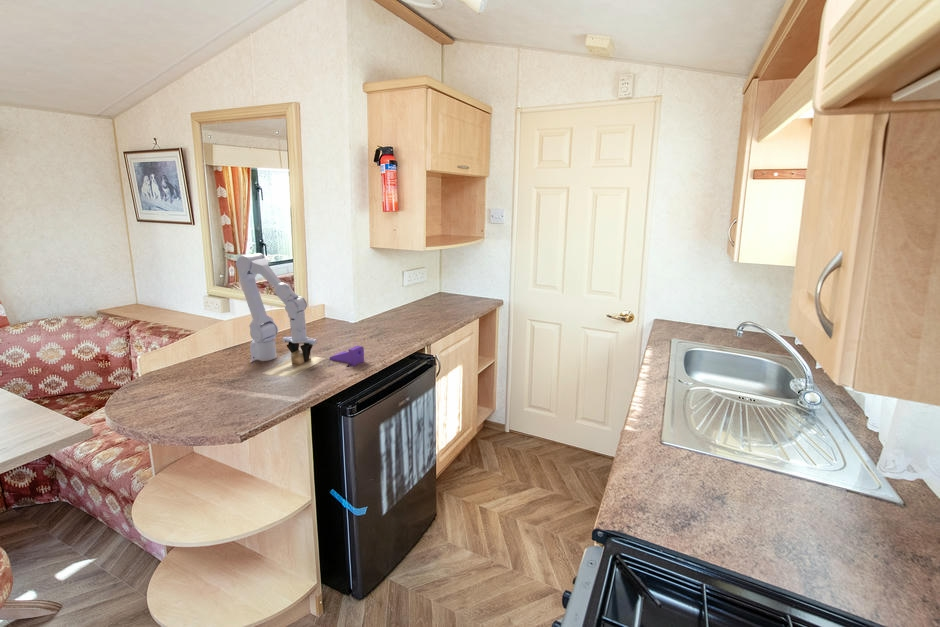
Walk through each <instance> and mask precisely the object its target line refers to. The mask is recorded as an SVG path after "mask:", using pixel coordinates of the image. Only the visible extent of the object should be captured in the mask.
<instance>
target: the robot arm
mask: <svg viewBox="0 0 940 627" xmlns="http://www.w3.org/2000/svg"><path fill="white" fill-rule="evenodd" d="M234 264H235V266H236V270H237V272H238V273H237V274H238V276H237V277H238V279H239V282H240V285H241V288H242V290H243V291H242V292H243V294H244V297H245V298H244V299H245V300H246V303H247V305H248V306H247V307H248V309H249V312H250V314H251V318H252V320H251V322H250V323H249V326H248V327H249V329H250V332H249V333H250V334H249V336H250V337H251V339H252V341H251V342H250V344H249V350H250V357H251V360H249V361H250V363H252V362H255V361H261V362H263V361H264V362H265V361H267V362H268V361H273V360H275V359H277V348H276V337H277V335H278V333H279V329H278V326H277V324H276V322H274V319H273V318H272V316H269V315H267V312H266V308H265V306H264V303H263V300H262V297H261V293H260V290H259V287H258V285H257V282H256V276H257V275H261V276H262V277H263V278H264V279H265V281H267V283H269V284H270V285H271V286H272V287H273V288H274V289H273V290H274V294H275V295H276V296H277V297H278V299H279V300H280V301H281V302H282V303H283V304H284V305H285V306H284V309H285V311H286V313H287V316H288V318H289V325H290V336H284V337H282V342H283V343H287V344H286V348H288V350H289V351H290V354H291V353H293V352H295V351H297V350H299V349H302V352H303V358H304V362H307V361H308V360H309V355H310V354H311V351H312V348H313V346H317V344H318V339H316V338H312V337H308V336H307V325H306V316H305V310H306V309H307V307H308V304H307V301H306V299H305V297H303V296H300V295H298V294H296V292H295V291H294V290H293V289H292V288H291V285H289V284H287V283H286V282H282V281H281V280H280V278H279V277H278V276H277V275H276V273H275V272H274V270H273V269H272V268H271V266H270V265H269V260H268V259H267V258H266V257H265V255H263V253H261V252H257V253H252V254H246V255H240V256H238V258H237V259H236V261H235V263H234ZM300 344H302V345H300ZM299 347H300V348H299Z"/></svg>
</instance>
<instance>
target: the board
mask: <svg viewBox="0 0 940 627" xmlns="http://www.w3.org/2000/svg"><path fill="white" fill-rule="evenodd" d="M325 359H326V357H320V356H319V357H318V356H311V360H309V361H307V362H306V363H304V364H302V365H293V364H292V361H291V358H289V359H287V360H285V361H283V362H281V363H279V364H277V365H275V366H273V367H271V368H270V369H268V370H265V371H264V372H262V373H261V374H262V375H270V376H277V377H278V376H280V377H286V378H287V377H288V378H294V377H297V375H299V374H302V373H303V372H305V371H307V370H308V369H310V368H311V367H313V366H315V365H317V364H318V363H320V362H322V361H324V360H325Z"/></svg>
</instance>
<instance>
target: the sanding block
mask: <svg viewBox="0 0 940 627" xmlns="http://www.w3.org/2000/svg"><path fill="white" fill-rule="evenodd" d="M311 357H312V355H311V353H310V355H309V360H311ZM290 359H291V361H292V364H293V365H302V364H304V363H306V362H304V358H303V352H302V349H301V348H299V350H297V351H295V352H293V353H291V352H290ZM309 360H308V361H309Z"/></svg>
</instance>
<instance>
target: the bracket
mask: <svg viewBox="0 0 940 627" xmlns="http://www.w3.org/2000/svg"><path fill="white" fill-rule="evenodd" d="M364 351H365V349H364V347H363V346H362V345H355V346H353V347H351V348H349V349H348V351H346V350H344V351H340V352H338V353H336V354H334V355H332V356H330V357H329V360H332V361H336V362H341V363H347V364H348V366H350V367H355V366H357V365H359V364H361V363H364V362H365V352H364Z"/></svg>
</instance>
